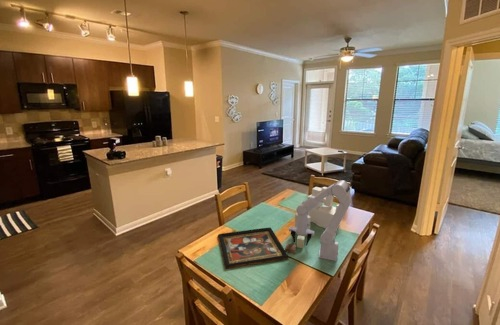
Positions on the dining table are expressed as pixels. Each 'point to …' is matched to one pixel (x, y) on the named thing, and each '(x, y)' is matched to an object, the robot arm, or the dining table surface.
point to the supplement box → (307, 224)
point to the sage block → (300, 241)
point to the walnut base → (290, 248)
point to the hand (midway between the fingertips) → (300, 243)
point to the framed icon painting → (250, 247)
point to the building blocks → (322, 209)
